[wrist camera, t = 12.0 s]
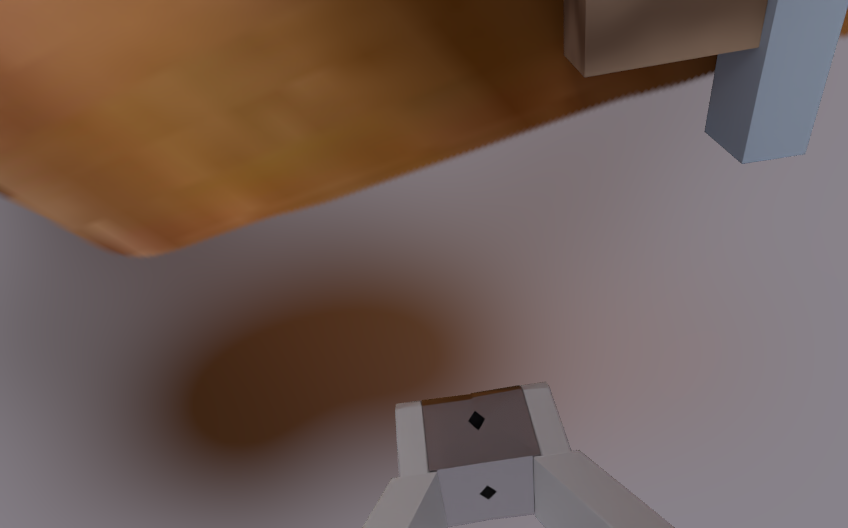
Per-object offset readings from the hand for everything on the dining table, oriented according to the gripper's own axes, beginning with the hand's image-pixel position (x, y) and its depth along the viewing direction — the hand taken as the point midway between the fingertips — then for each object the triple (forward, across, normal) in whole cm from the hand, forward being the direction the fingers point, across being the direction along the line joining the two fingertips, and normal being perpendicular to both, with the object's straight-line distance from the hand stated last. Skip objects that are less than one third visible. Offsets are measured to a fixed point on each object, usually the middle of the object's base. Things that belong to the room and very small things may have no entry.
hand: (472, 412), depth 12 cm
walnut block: (+29, -15, 0) cm, 33 cm away
